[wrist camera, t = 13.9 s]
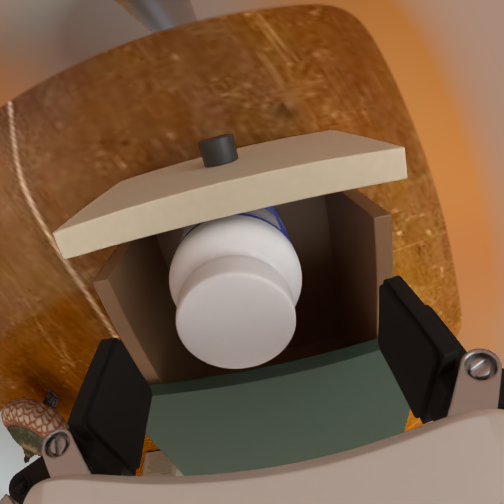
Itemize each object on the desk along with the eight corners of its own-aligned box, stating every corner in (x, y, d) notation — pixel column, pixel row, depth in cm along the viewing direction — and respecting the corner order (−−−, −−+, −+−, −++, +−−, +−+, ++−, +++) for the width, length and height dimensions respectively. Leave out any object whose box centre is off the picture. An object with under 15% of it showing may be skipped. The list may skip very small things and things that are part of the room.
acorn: (11, 366, 26) (-25, 430, 17) (60, 364, 26) (23, 442, 17) (48, 413, 30) (24, 475, 20) (99, 415, 29) (78, 488, 20)
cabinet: (155, 286, 23) (117, 398, 13) (352, 242, 22) (425, 334, 13) (218, 418, 30) (218, 508, 20) (358, 388, 29) (390, 474, 20)
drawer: (114, 163, 18) (40, 204, 10) (329, 110, 17) (400, 114, 9) (193, 364, 25) (184, 455, 17) (354, 329, 24) (393, 412, 16)
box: (163, 465, 34) (156, 547, 23) (144, 450, 33) (132, 538, 21) (197, 461, 34) (195, 548, 22) (179, 446, 32) (173, 540, 20)
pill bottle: (268, 272, 20) (294, 389, 12) (183, 259, 20) (153, 373, 11) (289, 190, 18) (342, 268, 9) (196, 173, 18) (160, 239, 9)
